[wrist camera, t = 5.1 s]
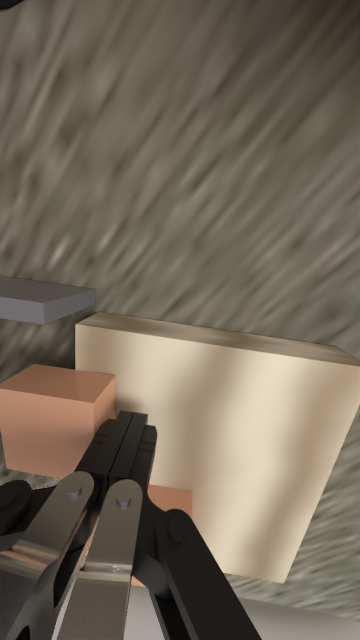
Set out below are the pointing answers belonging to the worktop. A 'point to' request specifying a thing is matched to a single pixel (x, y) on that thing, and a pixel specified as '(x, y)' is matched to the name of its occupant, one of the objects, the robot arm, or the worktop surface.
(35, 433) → the terracotta tile
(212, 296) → the worktop surface
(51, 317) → the box
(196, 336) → the birch board
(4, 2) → the wine bottle
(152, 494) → the terracotta tile
